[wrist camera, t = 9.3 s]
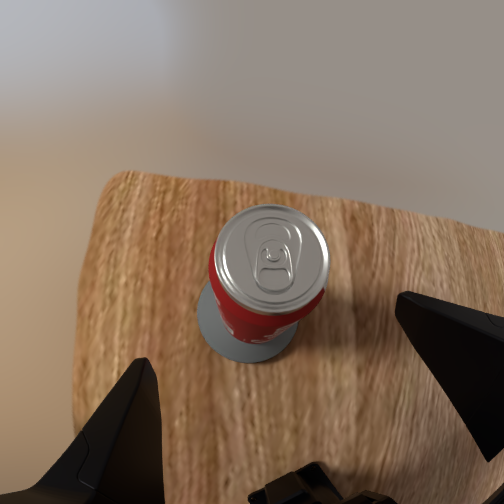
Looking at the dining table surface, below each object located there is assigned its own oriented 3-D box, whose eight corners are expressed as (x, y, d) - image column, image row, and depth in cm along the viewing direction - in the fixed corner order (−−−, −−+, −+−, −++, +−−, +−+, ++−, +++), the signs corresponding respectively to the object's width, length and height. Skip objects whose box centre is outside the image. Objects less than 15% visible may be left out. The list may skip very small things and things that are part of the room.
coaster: (314, 330, 22) (317, 329, 22) (229, 380, 20) (229, 381, 20) (265, 251, 25) (266, 247, 24) (182, 294, 23) (180, 292, 22)
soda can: (286, 279, 23) (330, 199, 12) (288, 343, 21) (345, 319, 10) (221, 279, 23) (209, 194, 12) (220, 344, 21) (202, 321, 10)
